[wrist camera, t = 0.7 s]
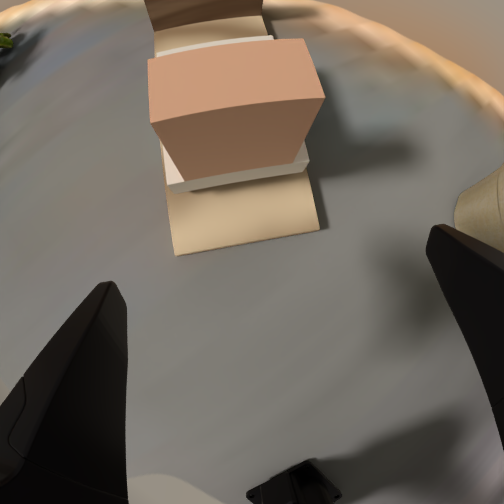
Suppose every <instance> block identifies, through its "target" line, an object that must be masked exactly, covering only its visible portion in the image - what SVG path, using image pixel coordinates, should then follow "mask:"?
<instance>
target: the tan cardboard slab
mask: <svg viewBox="0 0 504 504" xmlns="http://www.w3.org/2000/svg"><path fill="white" fill-rule="evenodd" d="M144 2H145V5H146V8H147V11H148V14H149V17H150V20H151V23H152V26H153V29H154V42H155V58H156V57H157V55H156V53H158V52H162V51H166V50H171V49H175V48H180V47H185V46H190V45H195V44H201V43H207V42H213V41H220V40H227V39H236V38H245V37H256V36H268V33H267V30H266V27H265V25H264V22H263V19H262V16H261V14H262V4H263V0H144ZM160 145H161V155H162V164H163V173H164V182H165V190H166V198H167V205H168V213H169V220H170V227H171V233H172V240H173V246H174V252H175V256H182V255H188V254H193V253H198V252H204V251H209V250H215V249H220V248H226V247H231V246H236V245H242V244H247V243H253V242H258V241H264V240H270V239H275V238H281V237H286V236H292V235H298V234H303V233H309V232H314V231H318V230H320V227H319V222H318V217H317V213H316V208H315V204H314V199H313V195H312V190H311V186H310V181H309V177H308V173H307V169H306V168H305V169H304V171H303V172H299V173H294V174H287V175H280V176H273V177H267V178H260V179H254V180H248V181H242V182H236V183H230V184H225V185H219V186H214V187H208V188H203V189H198V190H193V191H188V192H183V193H178V194H174V193H173V192H172V191H171V189H170V188H169V187H168V186H167V181H166V172H165V164H164V154H163V144H162V142H161V140H160Z"/></svg>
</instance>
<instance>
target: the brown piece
mask: <svg viewBox="0 0 504 504" xmlns="http://www.w3.org/2000/svg"><path fill="white" fill-rule="evenodd" d="M156 55H157V57H156V58H152V59H148V87H149V108H150V123H151V125H152V127H153V128H154V130H155V132H156V134H157V135H158V137H159V139H160V140H161V142H162V144H163V154H164V164H165V172H166V181H167V186H168V187H169V188H170V189H171V191H172V192H173V193H174V194H178V193H183V192H188V191H193V190H198V189H203V188H208V187H214V186H219V185H225V184H230V183H236V182H242V181H248V180H254V179H260V178H267V177H273V176H280V175H287V174H294V173H299V172H303V171H304V169H305V168H306V166H307V164H308V163H309V157H308V153H307V149H306V145H305V141H304V139H305V137H306V135H307V133H308V131H309V129H310V127H311V125H312V123H313V121H314V119H315V117H316V115H317V113H318V111H319V109H320V107H321V105H322V103H323V101H324V99H325V95H324V92H323V89H322V86H321V83H320V81H319V78H318V75H317V72H316V70H315V67H314V64H313V62H312V59H311V57H310V54H309V51H308V49H307V46H306V44H305V42H304V39H276V40H274V39H273V36H272V35H269V36H256V37H245V38H236V39H227V40H220V41H213V42H207V43H201V44H195V45H190V46H185V47H180V48H175V49H171V50H166V51H162V52H158V53H156Z"/></svg>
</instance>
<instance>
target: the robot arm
mask: <svg viewBox="0 0 504 504" xmlns="http://www.w3.org/2000/svg"><path fill="white" fill-rule="evenodd" d="M426 255H427V257H428V260H429V262H430V264H431V266H432V268H433V271H434V273H435V275H436V278H437V280H438V282H439V285H440V287H441V289H442V292H443V294H444V296H445V298H446V300H447V303H448V304H449V306H450V308H451V310H452V312H453V315H454V317H455V319H456V321H457V323H458V325H459V327H460V329H461V331H462V334H463V336H464V338H465V340H466V342H467V345H468V347H469V349H470V352H471V354H472V356H473V359H474V361H475V364H476V366H477V369H478V371H479V374H480V376H481V379H482V382H483V384H484V387H485V390H486V393H487V396H488V399H489V401H490V404H491V407H492V411H493V414H494V418H495V421H496V424H497V428H498V431H499V435H500V438H501V442H502V446H503V450H504V253H503V252H501V251H499V250H497V249H496V248H494V247H492V246H490V245H488V244H486V243H484V242H482V241H480V240H478V239H476V238H473V237H471V236H469V235H467V234H465V233H463V232H461V231H459V230H457V229H454V228H452V227H450V226H448V225H446V224H439V225H434V226H433V227H432V228H431V230H430V234H429V238H428V241H427V245H426ZM127 368H128V345H127V307H126V303H125V301H124V299H123V297H122V295H121V293H120V291H119V289H118V287H117V285H116V284H115V283H114V282H113V281H107V282H101V283H99V284H98V285H97V286H96V287H95V288H94V289H93V290H92V291H91V292H90V294H89V295H88V296H87V297H86V298H85V299H84V300H83V302H82V303H81V304H80V305H79V306H78V307H77V308H76V310H75V311H74V312H73V313H72V314H71V315H70V317H69V318H68V319H67V320H66V321H65V323H64V324H63V325H62V326H61V327H60V329H59V330H58V331H57V332H56V333H55V335H54V336H53V337H52V338H51V340H50V341H49V342H48V343H47V345H46V346H45V347H44V348H43V350H42V351H41V352H40V353H39V355H38V356H37V357H36V359H35V360H34V361H33V363H32V364H31V365H30V366H29V368H28V369H27V370H26V372H25V373H24V375H23V376H24V377H21V378H20V380H19V381H18V383H17V384H16V385H15V387H14V388H13V390H12V391H11V392H10V394H9V395H8V396H7V398H6V399H5V400H4V402H3V403H2V404H1V406H0V504H129V503H128V492H127V475H126V442H125V421H126V386H127ZM305 466H308V467H305ZM251 495H253V496H251ZM336 495H337V496H336ZM341 497H342V494H341V492H340V491H339V490H338V489H337V488H336V487H335V486H334V485H333V484H332V483H331V482H330V481H329V480H328V479H327V478H326V477H325V476H324V475H323V474H322V473H321V472H320V471H319V470H318V469H317V468H316V467H315V466H314V465H313V464H312V463H311V462H310V461H304V462H302V463H300V464H299V465H297V466H295V467H294V468H292V469H290V470H288V471H286V472H285V473H283V474H281V475H279V476H277V477H275V478H273V479H271V480H269V481H267V482H265V483H263V484H261V485H260V486H258V487H256V488H254V489H251V490H249V491H248V492H247V493H246V498H247V499H248V500H250V501H251V502H252V503H253V504H334V503H333V502H335V501H337V500H338V499H340V498H341Z"/></svg>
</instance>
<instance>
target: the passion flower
mask: <svg viewBox="0 0 504 504" xmlns="http://www.w3.org/2000/svg"><path fill="white" fill-rule="evenodd" d="M10 37H11V34H9V33H0V48H12V47H13V41H12V40H11V39H9V38H10Z"/></svg>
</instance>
